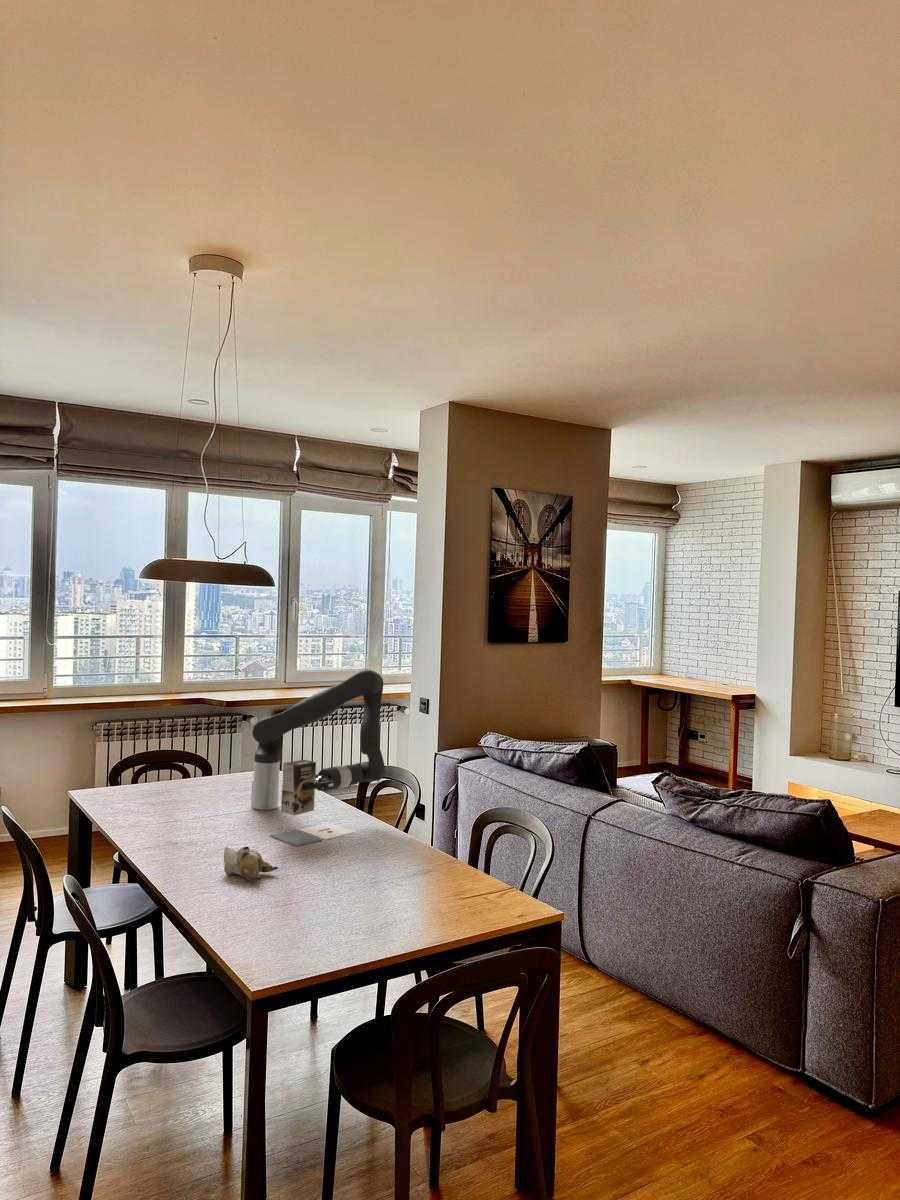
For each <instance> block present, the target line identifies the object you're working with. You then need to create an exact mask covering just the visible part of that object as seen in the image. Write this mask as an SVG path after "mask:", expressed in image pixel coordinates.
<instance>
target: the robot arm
mask: <svg viewBox="0 0 900 1200" xmlns="http://www.w3.org/2000/svg"><path fill="white" fill-rule="evenodd" d="M382 677H383V676H381V675H380V674H379V673H378V672H376V671H374V670H372V669H361V670H359V671H358V672H356V673H354V674H353V675H351V676H350V677H348V678H347V679H345V680H343V681H342V682H339V683H338V684H335V685H333V686H330V687H328V688H326V689H324V690H321V691H318V692H317V693H314V694H312V695H311V696H309V697H306V698H304V699H303V700H301V701H299V702H297V703H296V704H294V705H292V706H291V707H290V708H288V709H286V710H284V711H283V712H280V713H278V714H274V715H271V716H267V717H264V718H262V719H260V720H258V721H257V722H256V723H255V724H254V726H253V727H252V737H253V739H254V741H256V742H257V743H258V746H257V749H256V751H255V754H254V761H253V762H254V763H253V764H254V765H253V780H252V781H251V797H250V799H251V800H250V806H251V808H252V809H255V810H259V811H271V810H275V809H277V808H278V807H279V787H280V786H279V785H280V769H281V768H280V766H281V755H282V752H283V751H282V750H283V742H284V735H285V734H287V733H288V732H290V731H293V730H296V729H299V728H301V727H304V726H308V725H310V724H313V723H315V722H318V721H320V720H322V719H324V718H327V717H328V716H330V715H332V714H333V713H335V712H336V711H337V710H338V709H340V707H341V706H343V705H344V704H346V703H348V702H350V701H351V700H354V699H356V698H358V697H361V696H362V697H363V714H362V715H363V716H362V721H361V725H360V734H359V736H360V737H359V739H360V740H359V741H360V742H359V743H360V748H359V749H360V752H361V754H362V755H366V756H367V759H368V761H363V762H357V763H354V764H353V763H351V764H347V765H336V766H330V767H324V768H322V769H321V770H319V772H318V773H316V774H315V781H313V783H312V782H309V783H304V784H302V790H303V791H306V790H311V789H313V790H315V791H316V790H317V791H318V792H320V791H325V792H329V791H333V790H334V791H335V790H339V789H343V788H346V787H349V786H350V787H351V786H354V785H358V784H359V783H366V782H378V781H381V780H382V779H383V777H384V775H385V772H386V767H385V761H384V758H383V754H382V751H381V735H380V734H381V731H380V729H381V725H380V723H381V720H380V719H381V705H382V698H383V691H384V679H383V678H382Z"/></svg>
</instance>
